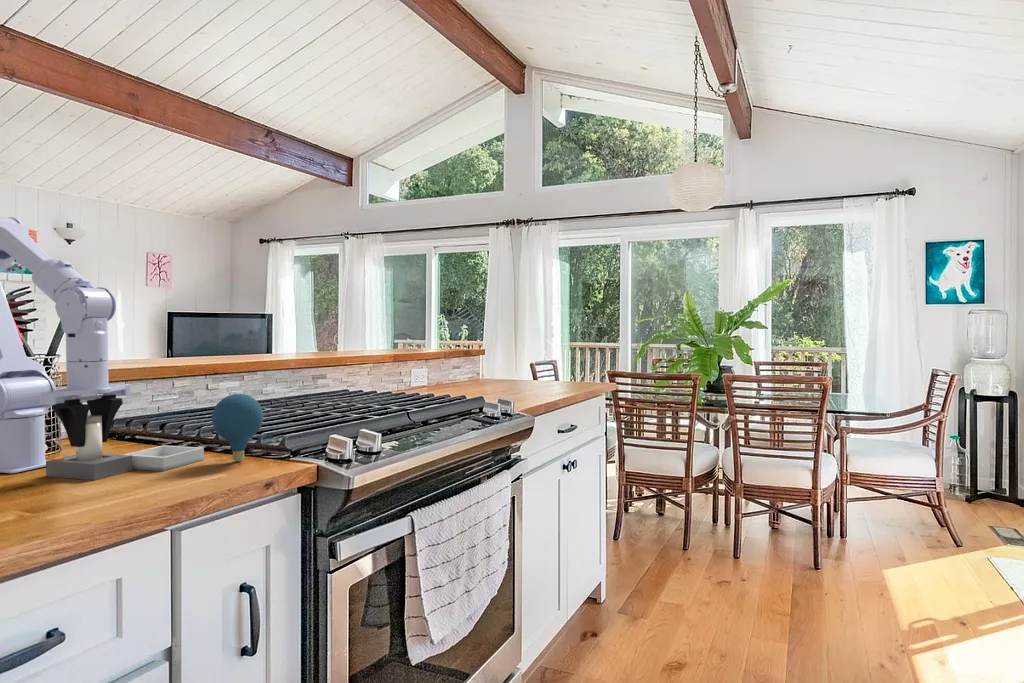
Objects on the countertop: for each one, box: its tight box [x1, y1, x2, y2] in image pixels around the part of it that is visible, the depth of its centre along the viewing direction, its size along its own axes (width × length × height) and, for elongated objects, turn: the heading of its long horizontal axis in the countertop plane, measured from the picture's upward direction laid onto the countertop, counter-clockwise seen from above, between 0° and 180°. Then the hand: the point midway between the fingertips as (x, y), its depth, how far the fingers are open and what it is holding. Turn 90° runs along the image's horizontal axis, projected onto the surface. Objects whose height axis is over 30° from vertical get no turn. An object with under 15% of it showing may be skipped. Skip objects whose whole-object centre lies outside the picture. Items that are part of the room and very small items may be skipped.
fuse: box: [75, 414, 104, 462], centre depth 105 cm, size 4×4×8 cm
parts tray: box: [122, 444, 205, 472], centre depth 112 cm, size 9×9×2 cm
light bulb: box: [211, 393, 264, 463], centre depth 114 cm, size 8×8×12 cm
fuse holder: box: [45, 453, 133, 481], centre depth 105 cm, size 10×7×3 cm
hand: (89, 444), depth 105 cm, fingers closed on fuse, 4 cm apart
